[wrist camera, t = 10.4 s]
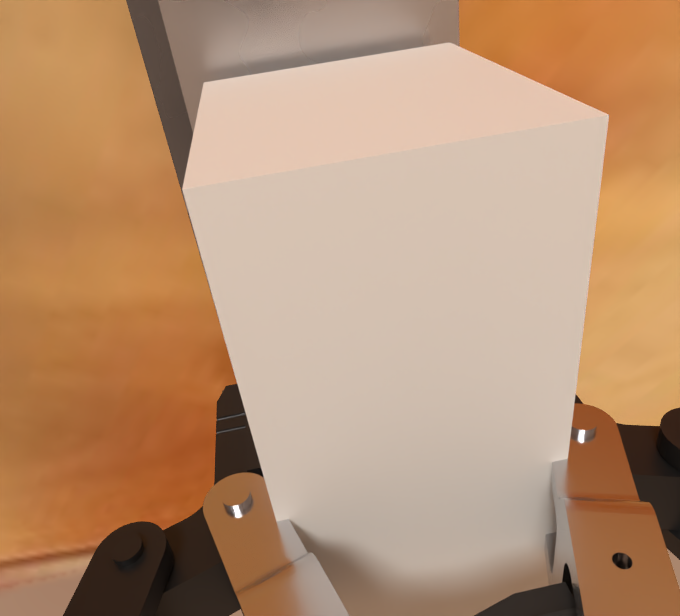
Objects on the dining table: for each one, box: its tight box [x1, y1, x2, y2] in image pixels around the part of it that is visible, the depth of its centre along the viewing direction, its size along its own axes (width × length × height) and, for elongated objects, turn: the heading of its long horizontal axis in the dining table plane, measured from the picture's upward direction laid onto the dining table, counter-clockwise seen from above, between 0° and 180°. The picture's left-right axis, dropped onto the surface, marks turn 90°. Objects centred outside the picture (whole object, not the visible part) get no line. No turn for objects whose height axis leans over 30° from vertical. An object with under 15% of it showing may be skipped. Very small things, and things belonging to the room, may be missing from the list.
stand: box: [126, 0, 459, 392], centre depth 19 cm, size 10×20×12 cm, turn 7°
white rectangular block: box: [182, 42, 609, 616], centre depth 13 cm, size 5×14×6 cm, turn 7°
